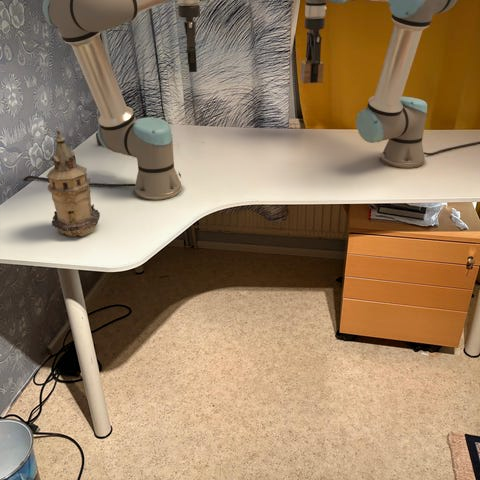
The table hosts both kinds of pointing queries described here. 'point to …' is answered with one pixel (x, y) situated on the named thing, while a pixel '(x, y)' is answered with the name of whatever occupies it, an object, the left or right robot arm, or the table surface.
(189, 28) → the left robot arm
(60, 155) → the miniature building
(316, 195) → the table surface
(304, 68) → the block
